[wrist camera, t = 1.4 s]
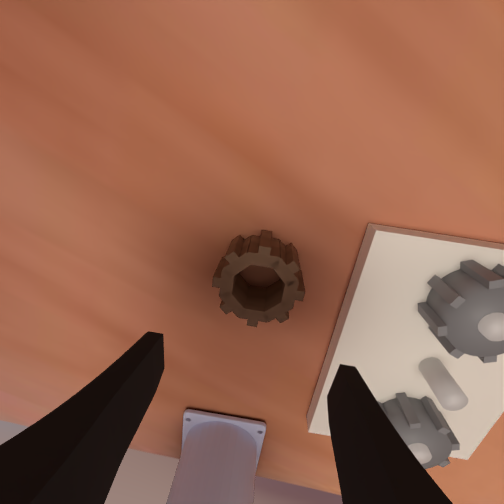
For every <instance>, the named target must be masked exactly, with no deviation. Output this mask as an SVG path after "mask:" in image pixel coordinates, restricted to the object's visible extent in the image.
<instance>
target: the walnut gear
mask: <svg viewBox="0 0 504 504" xmlns="http://www.w3.org/2000/svg"><path fill="white" fill-rule="evenodd" d="M250 265H255V266H262V267H268V268H273V269H274V271H275V272H276V273H277V274H278V276H279V277H280V278H281V280H279V281H277V282H276V283H274V284H272V285H271V286H269V287H267V288H262V287H256V286H249V285H248V284H247V283H246V281H245V280H244V279H243V278H242V277H241V275H240V274H239V272H241V271H242V270H244V269H245V268H247V267H248V266H250ZM212 287H218V288H220V292H219V296H220V298H221V299H222V301H221V304H220V308H221V309H222V310H223V311H224V313H225V314H228V313H229V312H231V311H233V313H234V314H235V315H236V316H237V317H239V318H243V319H248V320H247V325H248V326H254V327H257V324H258V321H261V322H267V321H268V322H270V321H271V320H273V319H275V318H276V319H277V320H278V321H279V323H282V322H283V321H285V320H287V319H289V312H288V311H289V310H291V309H292V308H293V306H294V302H295V300H298V301H303V298H304V294H305V288H304V283H303V278H302V272H301V270H300V265H299V259H298V254H297V250H296V249H295V247H294V246H293V244H292V243H290V244H289V245H287V246H286V247H285V246H284V244H283V243H282V242H281V240H280V241H279V239H273V238H272V231H266V230H262V232H261V237H260V236H254V235H252V236H250V237H248V238H247V239H245V240H244V239H243V238H242V237H241V235H239V236H237V237H236V238H235V239H233V240H232V242H231V244H230V246H229V249H228V251H227V253H226V256H225V258H221V261H220V263H219V265H218V267H217V269H216V271H215V274H214V276H213V282H212Z"/></svg>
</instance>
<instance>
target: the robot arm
mask: <svg viewBox="0 0 504 504" xmlns="http://www.w3.org/2000/svg"><path fill="white" fill-rule="evenodd" d="M163 371H164V342H163V334H161V333H155V332H147V333H146V334H145V335H143V336H142V337H141V338H140V339H139V340H138V341H137V342H136V343H135V344H134V345H133V346H132V347H131V348H130V349H129V350H127V351H126V352H125V353H124V354H123V355H122V356H121V357H120V358H119V359H117V360H116V361H115V362H114V363H113V364H112V365H111V366H109V367H108V368H107V369H106V370H105V371H104V372H102V373H101V374H100V375H99V376H98V377H96V378H95V379H94V380H93V381H91V382H90V383H89V384H88V385H86V386H85V387H84V388H83V389H81V390H80V391H79V392H78V393H76V394H75V395H74V396H72V397H71V398H70V399H68V400H67V401H66V402H64V403H63V404H62V405H60V406H59V407H58V408H56V409H55V410H53V411H52V412H50V413H49V414H48V415H46V416H45V417H43V418H42V419H40V420H39V421H37V422H36V423H34V424H33V425H31V426H30V427H28V428H27V429H25V430H24V431H22V432H21V433H19V434H18V435H16V436H14V437H13V438H11V439H10V440H8V441H6V442H5V443H3V444H2V445H0V504H104V503H105V500H106V498H107V495H108V493H109V490H110V488H111V485H112V483H113V480H114V478H115V476H116V473H117V471H118V468H119V466H120V464H121V462H122V459H123V457H124V455H125V453H126V451H127V449H128V447H129V445H130V443H131V441H132V439H133V437H134V435H135V433H136V431H137V429H138V427H139V425H140V423H141V421H142V419H143V417H144V415H145V413H146V411H147V409H148V407H149V405H150V403H151V401H152V399H153V397H154V395H155V392H156V390H157V387H158V384H159V382H160V379H161V376H162V373H163ZM327 407H328V420H329V428H330V434H331V440H332V445H333V451H334V456H335V462H336V467H337V472H338V478H339V483H340V489H341V494H342V501H343V504H453V503H452V502H451V501H450V500H449V499H448V497H447V496H446V495H445V494H444V493H443V491H442V490H441V489H440V488H439V487H438V485H437V484H436V483H435V482H434V480H433V479H432V478H431V477H430V475H429V474H428V473H427V472H426V470H425V469H424V468H423V466H422V465H421V464H420V462H419V461H418V460H417V458H416V457H415V456H414V454H413V453H412V452H411V450H410V449H409V448H408V446H407V445H406V443H405V442H404V441H403V439H402V438H401V436H400V435H399V433H398V432H397V431H396V429H395V428H394V426H393V425H392V423H391V422H390V420H389V419H388V417H387V416H386V414H385V413H384V411H383V410H382V408H381V407H380V405H379V403H378V402H377V400H376V399H375V397H374V396H373V394H372V392H371V391H370V389H369V388H368V386H367V384H366V383H365V381H364V379H363V378H362V376H361V375H360V373H359V371H358V370H357V368H356V367H355V366H349V365H343V364H340V365H339V368H338V370H337V373H336V375H335V378H334V380H333V383H332V385H331V388H330V390H329V392H328V395H327ZM265 432H266V424H265V423H264V422H261V421H255V420H249V419H243V418H238V417H232V416H226V415H220V414H215V413H209V412H203V411H197V410H192V409H187V410H185V412H184V414H183V432H182V452H181V456H180V460H179V463H178V466H177V469H176V473H175V476H174V480H173V483H172V486H171V489H170V493H169V496H168V499H167V503H166V504H253V502H254V486H255V473H256V469H257V465H258V461H259V457H260V452H261V448H262V444H263V440H264V436H265Z"/></svg>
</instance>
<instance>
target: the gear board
mask: <svg viewBox="0 0 504 504" xmlns="http://www.w3.org/2000/svg"><path fill="white" fill-rule="evenodd" d="M340 364H343V365H349V366H355V367H356V368H357V370H358V371H359V373H360V375H361V376H362V378H363V379H364V381H365V383H366V384H367V386H368V388H369V389H370V391H371V392H372V394H373V396H374V397H375V399H376V400H377V402H378V403H379V405H380V407H381V408H382V410H383V411H384V413H385V414H386V416H387V417H388V419H389V420H390V422H391V423H392V425H393V426H394V428H395V429H396V431H397V432H398V433H399V435H400V436H401V438H402V439H403V441H404V442H405V443H406V445H407V446H408V448H409V449H410V450H411V452H412V453H413V454H414V456H415V457H416V458H417V460H418V461H419V462H420V464H421V465H422V466H423V468H424V469H427V468H431V467H434V466H436V465H439V466H441V467H445V466H446V465H448V464H450V461H449V460H448V457H454V458H460V459H466V460H468V459H469V457H470V456H471V455H472V453H473V452H474V450H475V449H476V448H477V446H478V445H479V444H480V442H481V441H482V440H483V438H484V437H485V436H486V434H487V433H488V432H489V430H490V429H491V428H492V426H493V425H494V424H495V422H496V421H497V420H498V418H499V417H500V416H501V414H502V413H503V412H504V244H501V243H495V242H488V241H482V240H475V239H469V238H462V237H456V236H449V235H443V234H436V233H430V232H423V231H417V230H410V229H404V228H397V227H391V226H384V225H378V224H371V223H368V226H367V229H366V232H365V236H364V239H363V242H362V245H361V248H360V251H359V254H358V257H357V260H356V264H355V267H354V270H353V273H352V276H351V279H350V282H349V285H348V288H347V292H346V295H345V298H344V301H343V304H342V307H341V310H340V313H339V317H338V320H337V323H336V326H335V329H334V332H333V335H332V338H331V341H330V345H329V348H328V351H327V354H326V357H325V360H324V363H323V366H322V369H321V373H320V376H319V379H318V382H317V385H316V388H315V391H314V394H313V397H312V401H311V404H310V407H309V410H308V413H307V425H308V432H311V433H316V434H322V435H328V436H331V434H330V428H329V420H328V407H327V395H328V392H329V390H330V388H331V385H332V383H333V380H334V378H335V375H336V373H337V370H338V368H339V365H340Z"/></svg>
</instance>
